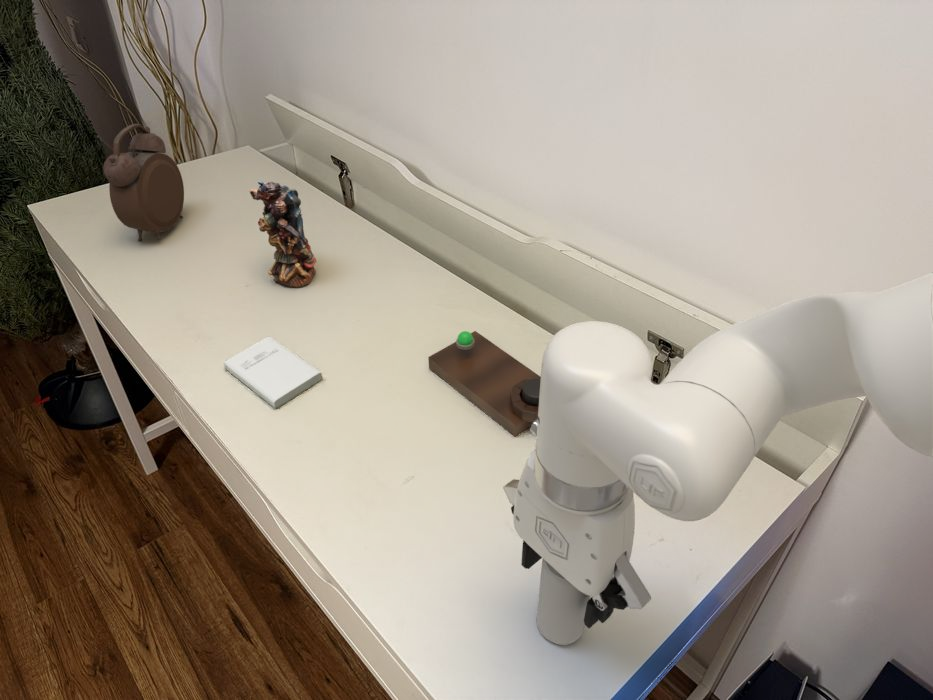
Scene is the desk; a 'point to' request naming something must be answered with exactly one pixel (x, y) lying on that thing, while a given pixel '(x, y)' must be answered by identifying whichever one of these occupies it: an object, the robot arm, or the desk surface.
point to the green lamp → (465, 340)
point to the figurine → (285, 234)
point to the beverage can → (560, 607)
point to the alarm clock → (144, 183)
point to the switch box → (488, 381)
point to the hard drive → (273, 371)
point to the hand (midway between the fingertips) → (565, 586)
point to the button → (531, 392)
